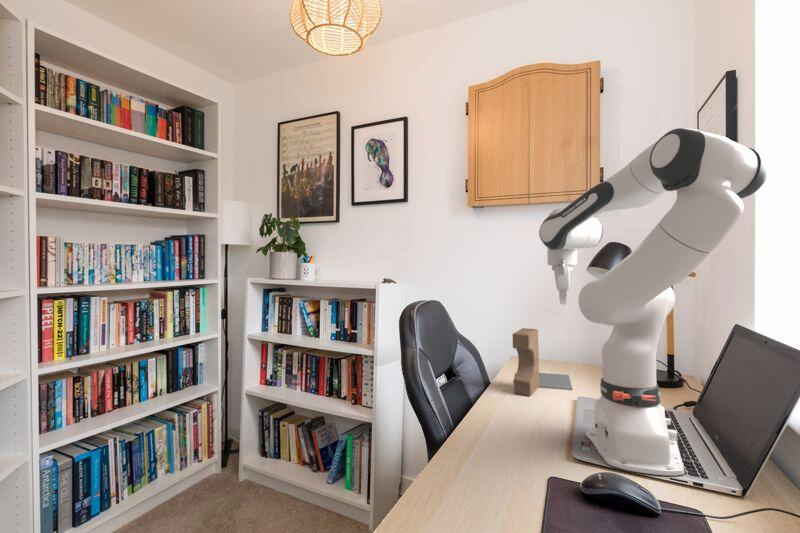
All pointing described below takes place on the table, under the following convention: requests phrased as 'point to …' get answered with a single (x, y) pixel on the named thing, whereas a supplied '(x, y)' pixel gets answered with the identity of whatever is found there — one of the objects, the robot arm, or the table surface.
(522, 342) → the decorative block
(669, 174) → the robot arm
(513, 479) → the table surface
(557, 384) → the felt pad
